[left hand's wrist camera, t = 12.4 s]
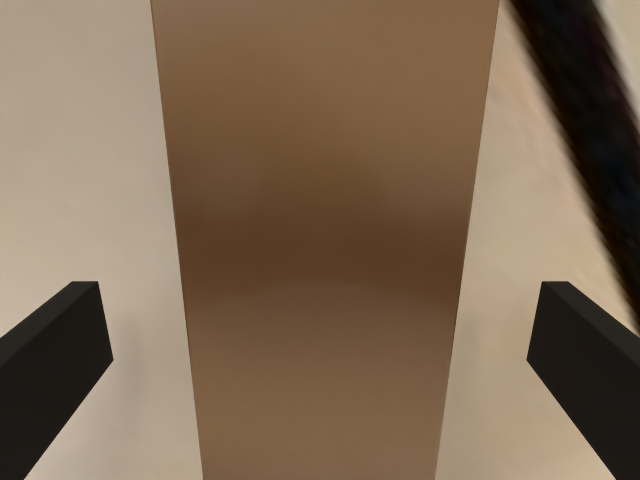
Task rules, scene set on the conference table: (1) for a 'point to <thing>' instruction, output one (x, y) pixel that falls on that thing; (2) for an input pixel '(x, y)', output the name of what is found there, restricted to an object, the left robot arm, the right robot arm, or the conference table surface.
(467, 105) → the bar
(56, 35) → the conference table surface
